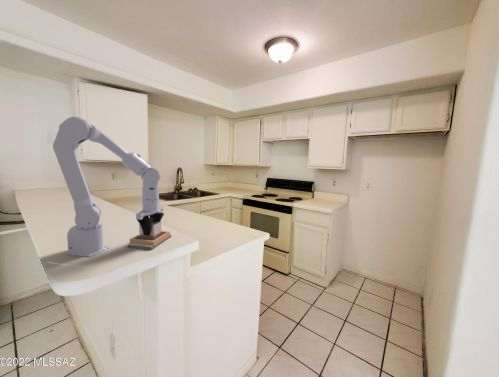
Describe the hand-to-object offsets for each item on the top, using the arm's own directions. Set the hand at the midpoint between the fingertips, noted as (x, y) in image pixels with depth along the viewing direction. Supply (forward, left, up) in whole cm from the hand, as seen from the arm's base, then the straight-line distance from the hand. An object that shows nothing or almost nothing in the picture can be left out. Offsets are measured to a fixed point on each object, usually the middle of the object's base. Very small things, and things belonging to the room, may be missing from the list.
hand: (151, 232), depth 81 cm
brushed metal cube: (0, 0, -2) cm, 2 cm away
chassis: (0, 0, -4) cm, 4 cm away
